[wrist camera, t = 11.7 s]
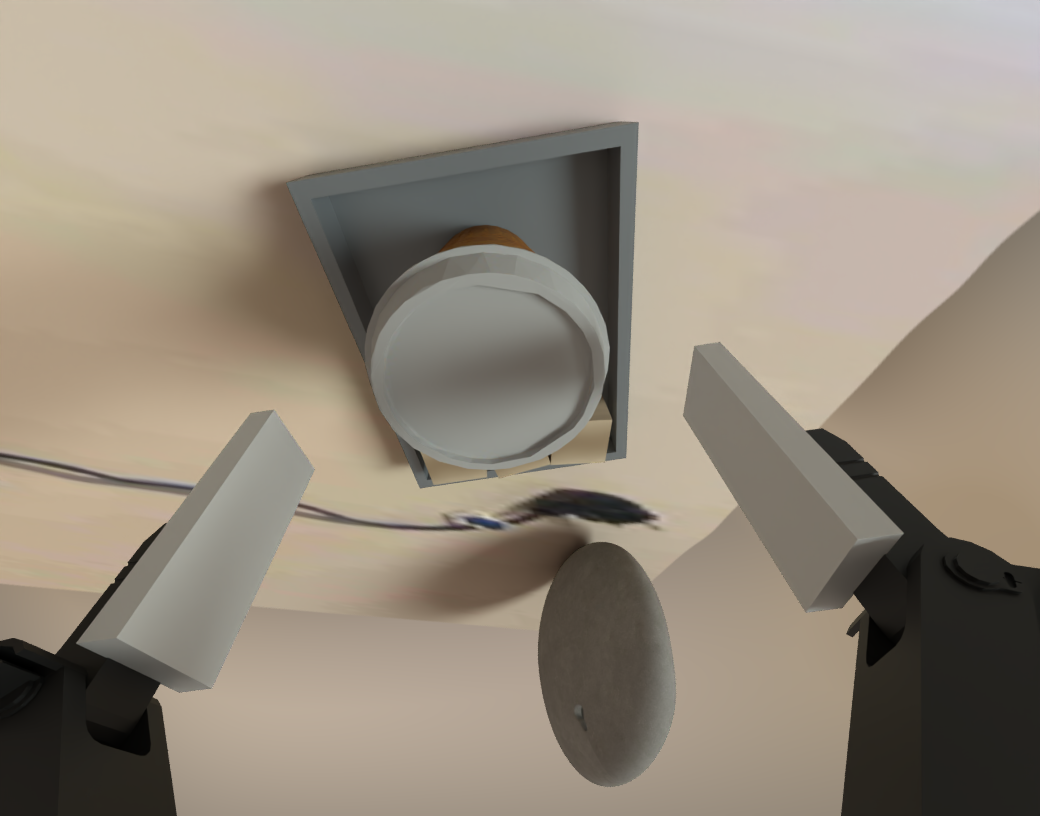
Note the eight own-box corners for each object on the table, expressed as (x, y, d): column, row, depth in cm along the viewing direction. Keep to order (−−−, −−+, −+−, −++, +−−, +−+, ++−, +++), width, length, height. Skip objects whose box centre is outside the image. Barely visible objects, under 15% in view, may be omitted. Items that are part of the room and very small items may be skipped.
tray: (309, 175, 21) (286, 182, 18) (620, 121, 20) (638, 122, 18) (424, 461, 34) (419, 488, 31) (616, 433, 33) (626, 457, 31)
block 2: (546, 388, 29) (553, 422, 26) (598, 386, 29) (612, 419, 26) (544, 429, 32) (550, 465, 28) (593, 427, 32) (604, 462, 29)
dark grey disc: (564, 600, 50) (597, 809, 35) (514, 592, 48) (526, 809, 33) (650, 513, 40) (747, 749, 25) (591, 497, 38) (659, 745, 23)
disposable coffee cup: (436, 360, 27) (411, 494, 18) (382, 212, 21) (303, 291, 12) (571, 333, 27) (621, 456, 17) (554, 175, 21) (614, 225, 11)
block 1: (425, 410, 30) (417, 445, 27) (477, 402, 30) (475, 437, 26) (438, 448, 32) (433, 485, 29) (487, 441, 32) (487, 477, 29)
